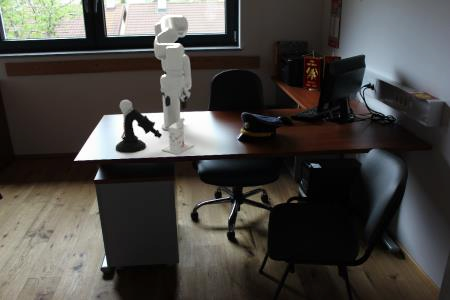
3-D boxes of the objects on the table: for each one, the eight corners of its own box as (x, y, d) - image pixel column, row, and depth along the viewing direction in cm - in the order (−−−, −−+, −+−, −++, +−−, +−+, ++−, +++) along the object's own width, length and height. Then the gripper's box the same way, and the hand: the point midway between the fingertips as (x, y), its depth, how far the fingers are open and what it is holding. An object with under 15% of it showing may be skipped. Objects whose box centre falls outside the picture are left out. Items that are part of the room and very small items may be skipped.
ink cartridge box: (175, 144, 216) (174, 116, 211) (184, 145, 214) (183, 117, 209) (169, 149, 208) (167, 121, 203) (178, 150, 207) (177, 122, 202)
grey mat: (177, 143, 219) (177, 142, 219) (193, 146, 214) (193, 145, 214) (161, 150, 208) (161, 149, 208) (178, 154, 204) (177, 153, 203)
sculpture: (118, 143, 219) (114, 96, 210) (163, 141, 221) (161, 95, 212) (113, 153, 205) (108, 104, 196) (161, 152, 207) (158, 103, 198)
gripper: (155, 72, 199) (157, 106, 205) (184, 76, 191) (185, 111, 197) (165, 69, 205) (166, 103, 211) (193, 73, 197) (194, 108, 203)
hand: (175, 107), depth 204 cm, fingers open, 9 cm apart
